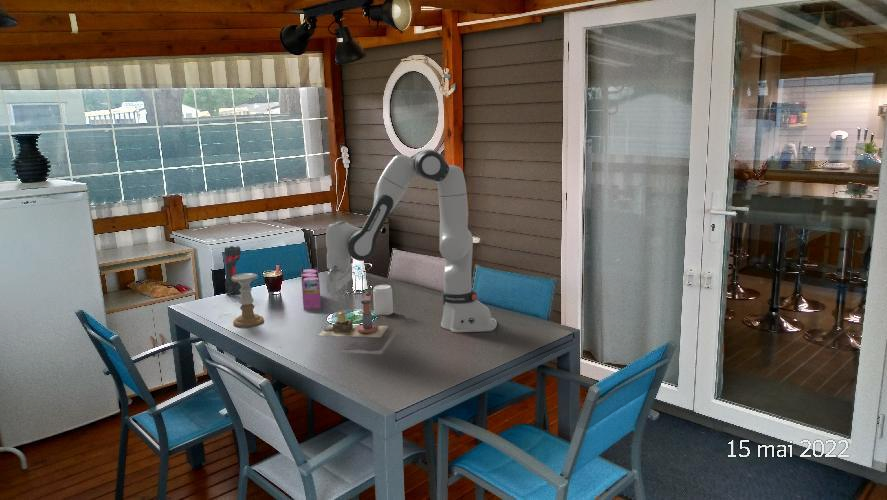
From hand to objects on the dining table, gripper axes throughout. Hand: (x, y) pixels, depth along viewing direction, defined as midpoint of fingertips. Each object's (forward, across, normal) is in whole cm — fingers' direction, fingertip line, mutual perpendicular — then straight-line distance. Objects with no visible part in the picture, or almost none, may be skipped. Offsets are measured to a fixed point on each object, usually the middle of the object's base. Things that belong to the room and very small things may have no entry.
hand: (340, 297), depth 250 cm
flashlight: (+16, +52, +70) cm, 89 cm away
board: (+14, 0, -5) cm, 15 cm away
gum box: (+15, +40, +27) cm, 51 cm away
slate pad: (+13, 0, +5) cm, 14 cm away
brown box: (+13, 0, -1) cm, 13 cm away
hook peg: (+13, 0, -1) cm, 13 cm away
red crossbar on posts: (+13, +4, -10) cm, 16 cm away
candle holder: (+15, +9, +43) cm, 47 cm away
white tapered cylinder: (+14, +25, -11) cm, 31 cm away
